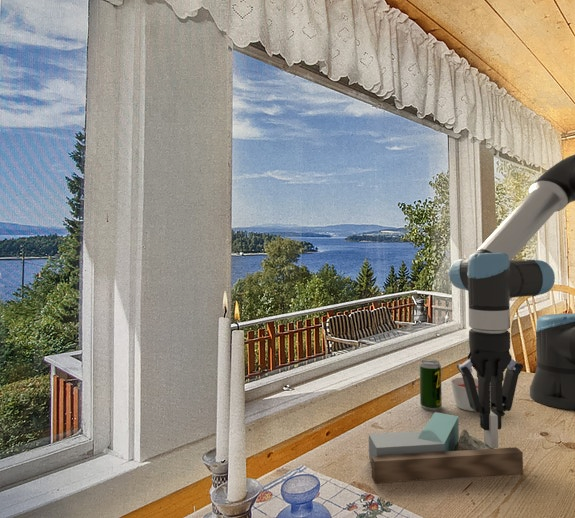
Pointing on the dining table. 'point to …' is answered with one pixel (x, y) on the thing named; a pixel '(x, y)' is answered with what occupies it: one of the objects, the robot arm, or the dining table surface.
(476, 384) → the white cup
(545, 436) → the dining table surface
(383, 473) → the walnut wall
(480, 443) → the rock sample
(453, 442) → the grey teal angled block
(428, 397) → the beer can
